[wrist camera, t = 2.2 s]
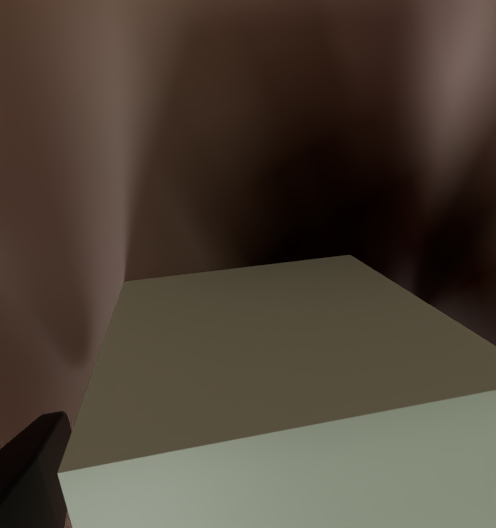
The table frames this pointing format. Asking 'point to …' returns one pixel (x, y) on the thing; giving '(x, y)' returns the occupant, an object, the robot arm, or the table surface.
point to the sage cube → (284, 406)
